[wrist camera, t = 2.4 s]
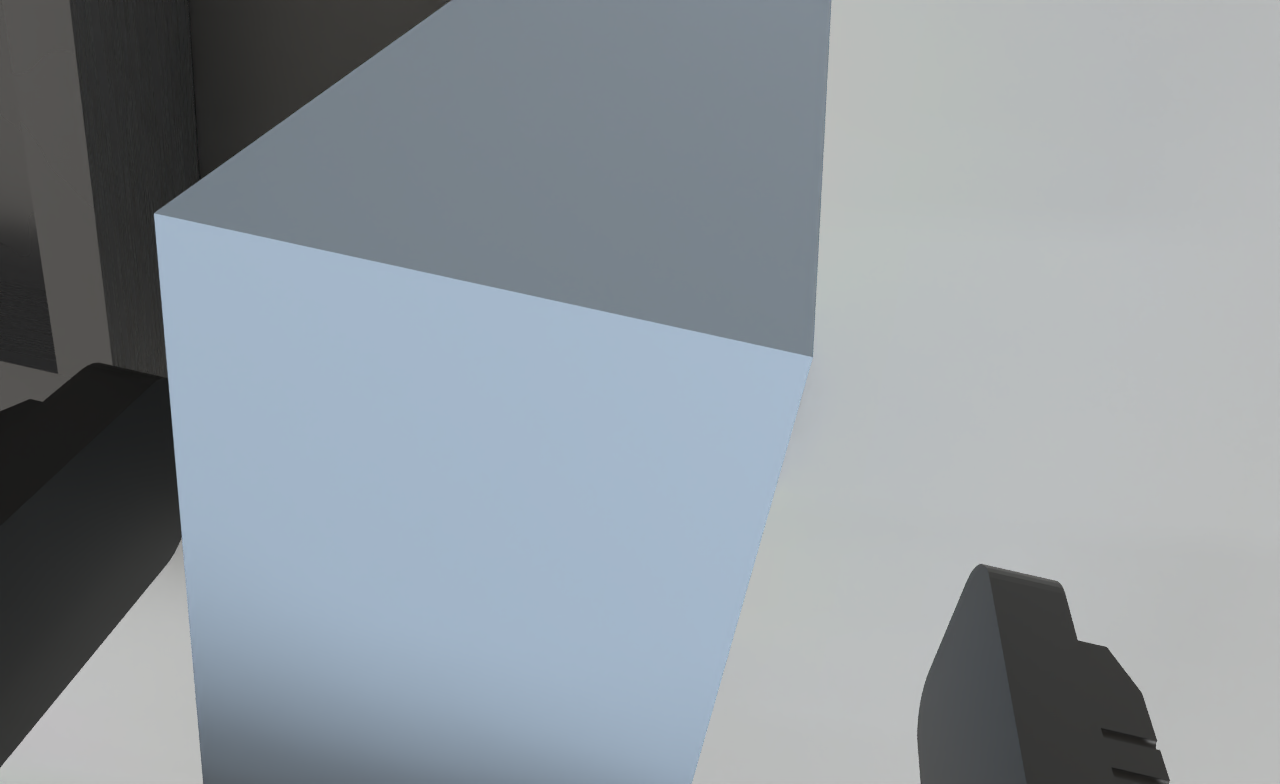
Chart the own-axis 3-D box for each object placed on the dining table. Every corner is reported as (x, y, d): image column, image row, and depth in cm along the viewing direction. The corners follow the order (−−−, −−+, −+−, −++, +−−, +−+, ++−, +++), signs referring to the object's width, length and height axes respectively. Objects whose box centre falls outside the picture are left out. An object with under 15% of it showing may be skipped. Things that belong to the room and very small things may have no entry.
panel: (554, -73, 12) (155, 213, 5) (832, -16, 12) (812, 357, 5) (484, 562, 17) (235, 1145, 10) (680, 607, 16) (564, 1231, 10)
